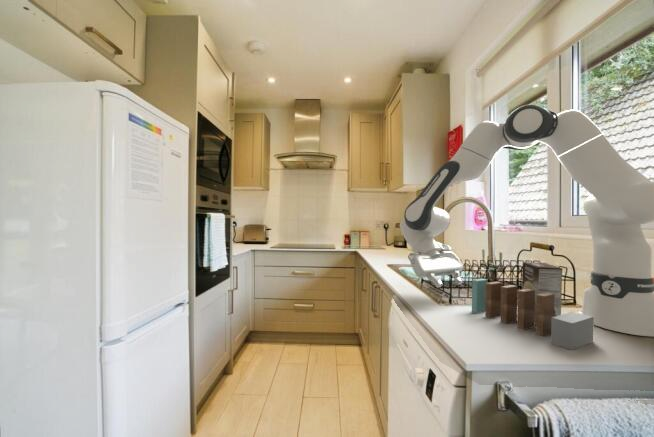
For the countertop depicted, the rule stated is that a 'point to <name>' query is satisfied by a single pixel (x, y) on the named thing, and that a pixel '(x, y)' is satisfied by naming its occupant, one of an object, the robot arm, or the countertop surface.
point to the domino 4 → (526, 308)
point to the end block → (572, 330)
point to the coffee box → (543, 282)
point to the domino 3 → (509, 303)
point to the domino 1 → (479, 295)
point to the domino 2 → (493, 299)
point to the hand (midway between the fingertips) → (450, 284)
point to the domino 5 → (544, 313)
